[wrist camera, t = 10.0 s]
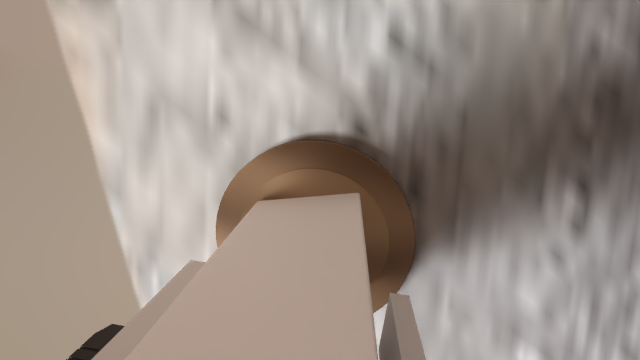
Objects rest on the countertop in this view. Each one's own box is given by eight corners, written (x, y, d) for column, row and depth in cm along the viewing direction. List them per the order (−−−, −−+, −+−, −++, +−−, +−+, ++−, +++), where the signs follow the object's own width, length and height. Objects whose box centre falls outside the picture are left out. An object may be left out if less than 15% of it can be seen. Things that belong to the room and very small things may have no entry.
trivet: (225, 127, 19) (219, 128, 19) (431, 154, 19) (434, 157, 18) (217, 303, 23) (211, 311, 22) (393, 333, 22) (395, 343, 21)
